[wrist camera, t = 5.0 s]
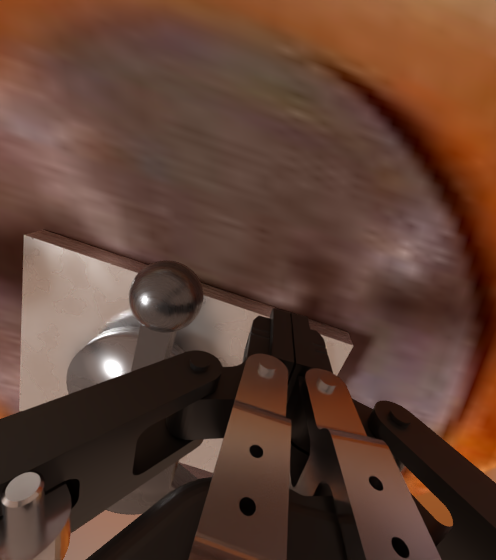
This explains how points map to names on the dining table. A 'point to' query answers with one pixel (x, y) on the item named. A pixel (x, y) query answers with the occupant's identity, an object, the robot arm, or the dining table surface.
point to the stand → (120, 320)
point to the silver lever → (143, 355)
